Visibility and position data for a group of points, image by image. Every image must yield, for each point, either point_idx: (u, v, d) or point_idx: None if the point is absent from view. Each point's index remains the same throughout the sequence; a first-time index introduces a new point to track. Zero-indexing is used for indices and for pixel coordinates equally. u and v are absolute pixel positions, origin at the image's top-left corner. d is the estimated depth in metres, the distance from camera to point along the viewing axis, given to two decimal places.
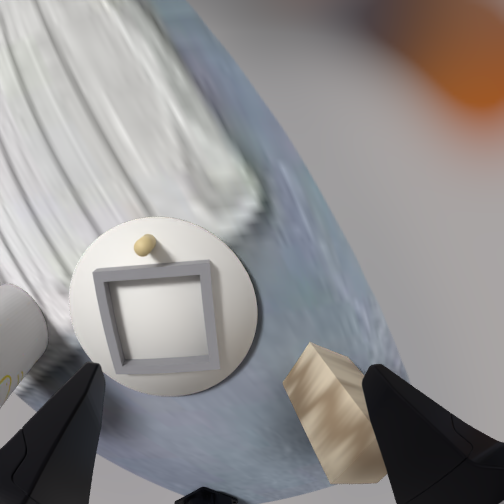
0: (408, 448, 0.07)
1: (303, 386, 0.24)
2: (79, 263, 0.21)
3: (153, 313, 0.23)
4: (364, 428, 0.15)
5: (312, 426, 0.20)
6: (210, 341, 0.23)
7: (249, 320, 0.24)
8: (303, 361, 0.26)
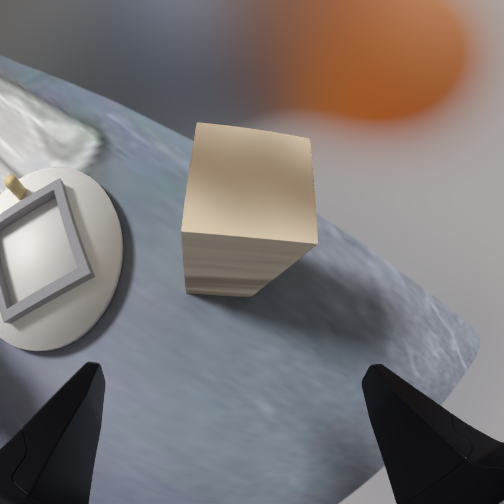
0: (408, 448, 0.07)
1: None
2: None
3: (29, 248, 0.20)
4: None
5: None
6: (73, 243, 0.19)
7: (110, 220, 0.22)
8: None
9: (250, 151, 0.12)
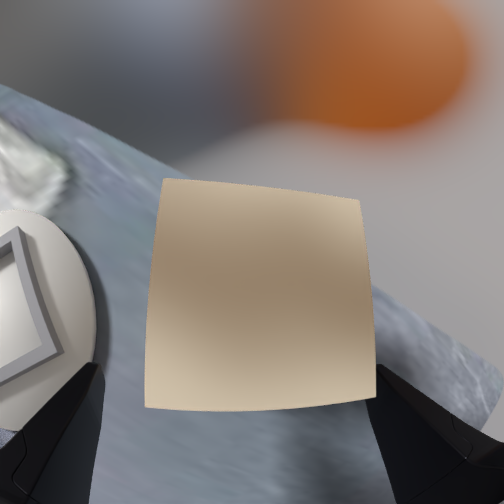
0: (408, 448, 0.07)
1: None
2: None
3: None
4: None
5: None
6: (34, 313, 0.14)
7: (77, 281, 0.16)
8: None
9: (262, 235, 0.07)
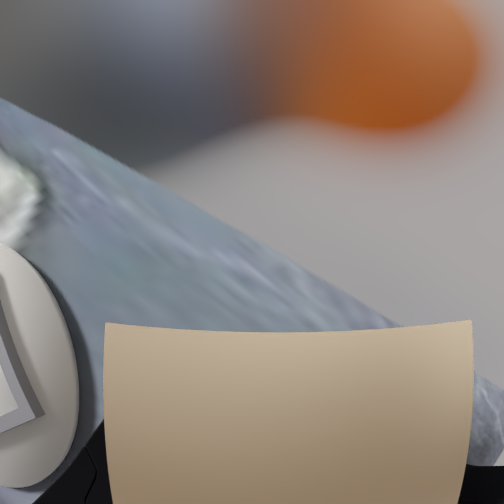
0: None
1: None
2: None
3: None
4: None
5: None
6: (6, 371, 0.10)
7: (52, 332, 0.13)
8: None
9: (326, 440, 0.03)
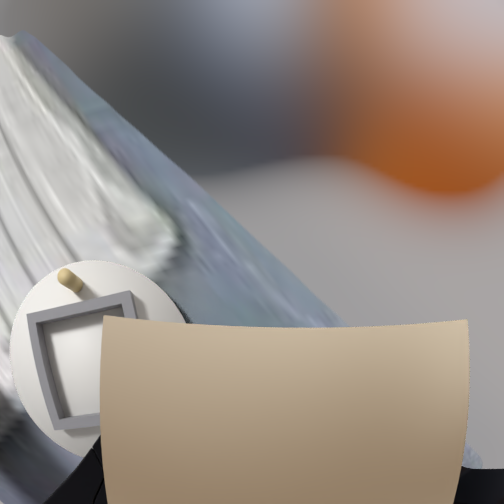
0: None
1: None
2: (18, 313, 0.18)
3: (86, 358, 0.19)
4: None
5: None
6: None
7: None
8: None
9: (315, 436, 0.03)
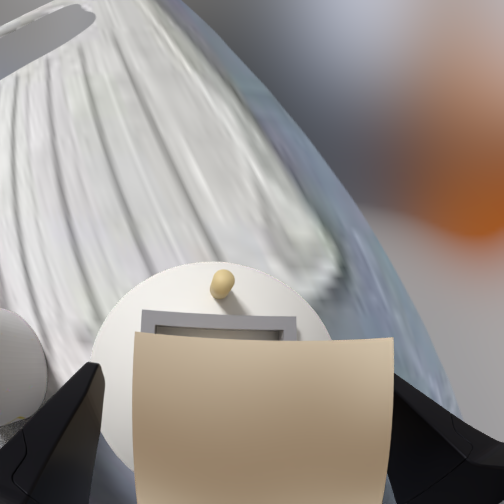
0: (408, 448, 0.07)
1: None
2: (121, 301, 0.17)
3: None
4: None
5: None
6: None
7: None
8: None
9: (268, 410, 0.05)
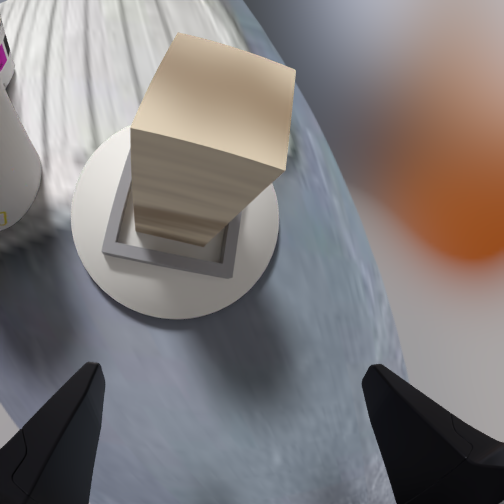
0: (408, 448, 0.07)
1: None
2: (119, 132, 0.20)
3: None
4: None
5: None
6: (230, 237, 0.21)
7: (269, 238, 0.23)
8: None
9: (228, 66, 0.09)
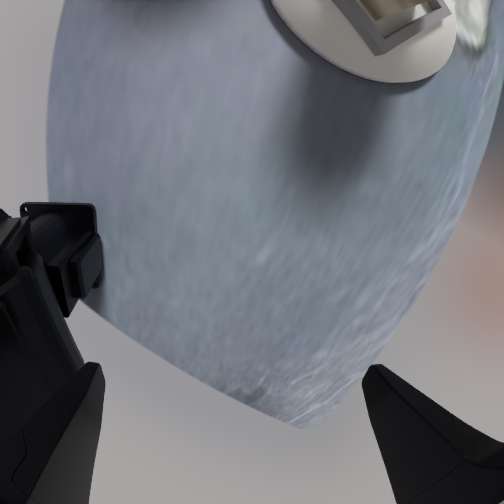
0: (408, 448, 0.07)
1: None
2: None
3: None
4: None
5: None
6: (404, 32, 0.13)
7: (425, 68, 0.16)
8: None
9: None
